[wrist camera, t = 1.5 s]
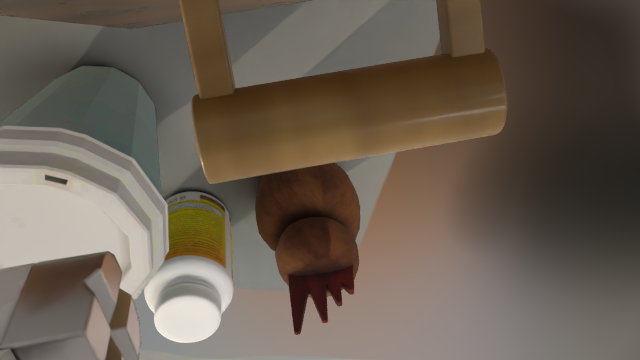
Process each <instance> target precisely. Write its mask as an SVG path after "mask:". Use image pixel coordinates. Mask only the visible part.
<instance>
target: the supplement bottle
mask: <svg viewBox="0 0 640 360" xmlns="http://www.w3.org/2000/svg"><path fill="white" fill-rule="evenodd" d="M165 202H166V203H167V204H168V238H169V251H168V253H167V254H166V256H165V260H164V262H163V264H162V265H161V266H160V268H159V269H158V270H157V272H156V273H155V275H154V276H153V277H152V279H151V280H150V281H149V283H148V284H147V285H146V287H145V288H144V293H145V299H146V302H147V304H148V306H149V308H150V309H151V310H152V311H153V312H154V313H155V314H154V322H155V326H156V328H157V330H158V331H159V332H160V334H162V335H163V336H164V337H166V338H168V339H170V340H172V341H176V342H181V343H191V342H197V341H200V340H203V339H205V338H207V337H209V336H210V335H212V334H213V333H214V332H215V331H216V330H217V328H218V327H219V325H220V321H221V313H222V312H223V311H224V310H225V309H226V308H227V307H228V305H229V304H230V302H231V299H232V296H233V287H234V284H233V260H232V234H231V220H230V215H229V213H228V211H227V209H226V207H225V206H224V205H223V204H222V203H221V202H220V201H219V200H218V199H216V198H215V197H213V196H211V195H208V194H206V193H202V192H183V193H179V194H176V195H174V196H172V197H170V198H168V199H167V200H166V201H165Z"/></svg>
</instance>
